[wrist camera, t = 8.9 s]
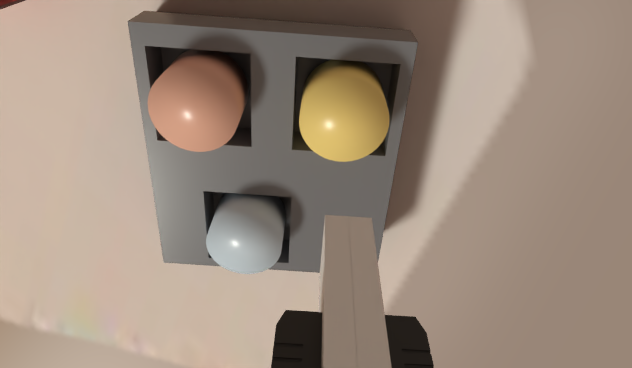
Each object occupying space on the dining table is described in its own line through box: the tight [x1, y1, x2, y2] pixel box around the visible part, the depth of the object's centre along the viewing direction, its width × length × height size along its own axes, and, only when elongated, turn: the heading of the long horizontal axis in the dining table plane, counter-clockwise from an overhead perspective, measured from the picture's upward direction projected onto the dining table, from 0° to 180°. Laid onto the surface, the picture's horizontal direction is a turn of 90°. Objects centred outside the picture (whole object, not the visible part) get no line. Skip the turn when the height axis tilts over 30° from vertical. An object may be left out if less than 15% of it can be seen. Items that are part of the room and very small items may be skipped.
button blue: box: [206, 193, 286, 274], centre depth 31 cm, size 5×5×4 cm
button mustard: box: [299, 59, 389, 162], centre depth 26 cm, size 5×5×4 cm
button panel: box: [128, 11, 418, 273], centre depth 30 cm, size 16×15×4 cm
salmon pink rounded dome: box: [148, 49, 249, 152], centre depth 26 cm, size 5×5×4 cm
